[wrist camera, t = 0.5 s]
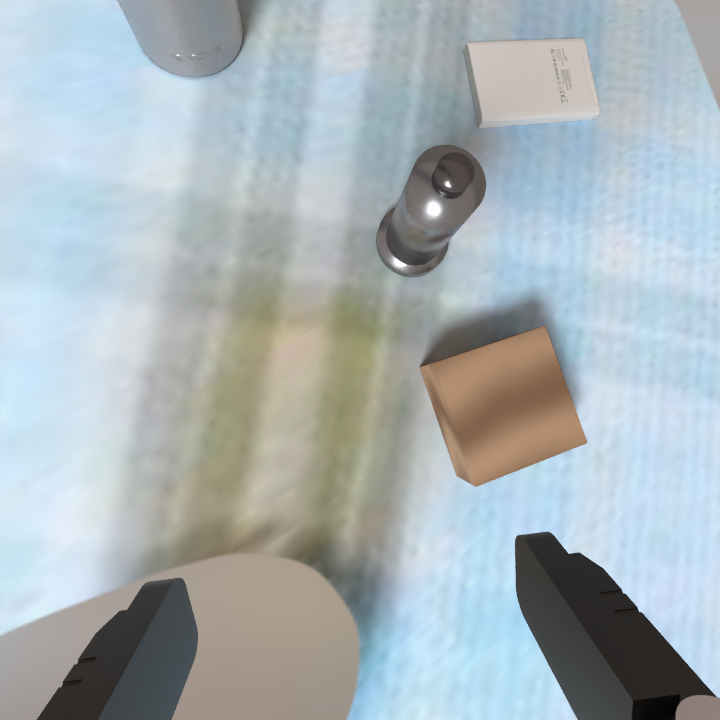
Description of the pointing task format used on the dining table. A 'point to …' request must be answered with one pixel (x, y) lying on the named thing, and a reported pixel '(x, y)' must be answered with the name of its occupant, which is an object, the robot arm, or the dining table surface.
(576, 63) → the external hard drive
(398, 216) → the cylinder
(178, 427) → the dining table surface
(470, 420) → the stand
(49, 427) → the dining table surface
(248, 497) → the dining table surface
